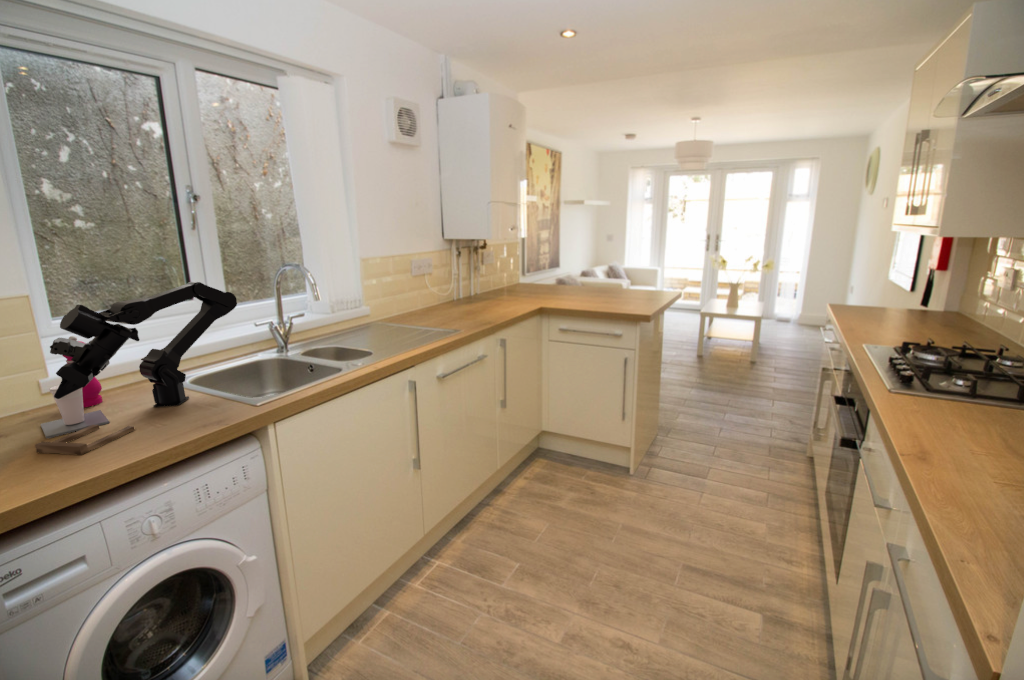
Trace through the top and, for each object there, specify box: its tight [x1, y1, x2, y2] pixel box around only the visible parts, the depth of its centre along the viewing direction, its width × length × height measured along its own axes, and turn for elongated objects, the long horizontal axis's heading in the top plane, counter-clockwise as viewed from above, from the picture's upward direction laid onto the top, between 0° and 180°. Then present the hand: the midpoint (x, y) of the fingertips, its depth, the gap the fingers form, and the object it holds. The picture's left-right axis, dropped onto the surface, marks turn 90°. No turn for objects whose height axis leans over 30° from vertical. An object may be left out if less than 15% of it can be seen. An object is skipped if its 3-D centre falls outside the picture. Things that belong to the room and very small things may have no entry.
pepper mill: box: [61, 335, 103, 409], centre depth 137 cm, size 7×7×20 cm
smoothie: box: [49, 384, 85, 425], centre depth 124 cm, size 6×6×14 cm
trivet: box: [40, 409, 110, 440], centre depth 125 cm, size 12×12×1 cm
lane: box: [34, 425, 135, 456], centre depth 115 cm, size 13×12×2 cm
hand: (61, 393), depth 123 cm, fingers closed on smoothie, 6 cm apart
